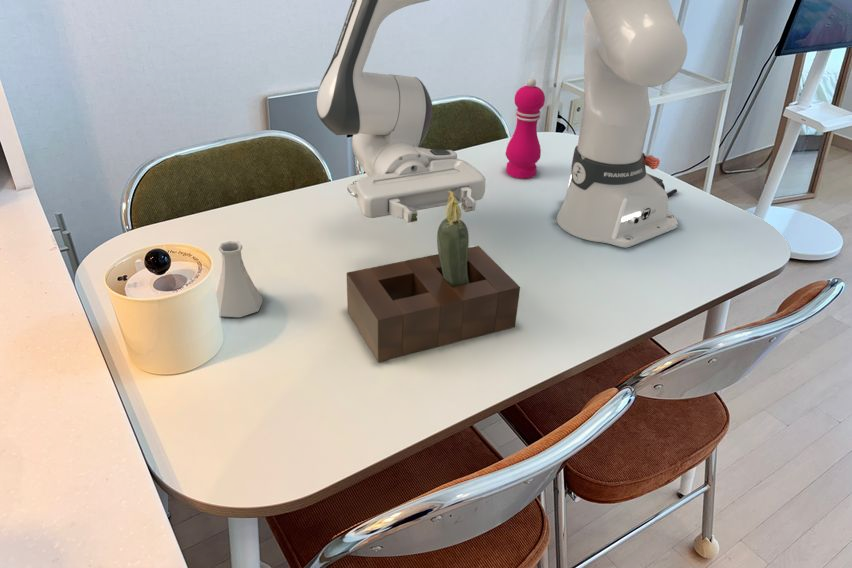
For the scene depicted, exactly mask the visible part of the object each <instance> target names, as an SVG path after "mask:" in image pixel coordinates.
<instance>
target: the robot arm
mask: <svg viewBox="0 0 852 568" xmlns="http://www.w3.org/2000/svg"><path fill="white" fill-rule="evenodd" d="M429 1H430V0H351V3H350V6H349V9H348V11H347V14H346V17H345V19H344V23H343V26H342V29H341V32H340V35H339V38H338V40H337V43H336V46H335V49H334V52H333V54H332V57H331V60H330V63H329V65H328V67H327V69H326V71H325V73H324V75H323V77H322V78H321V81H320V84H319V86H318V90H317V94H316V101H315V102H316V105H315V106H316V107H315V108H316V113H317V114H316V115H317V117H318V119H319V120H320V121H321V122H322V124H323V125H324V126H325V127H326V128H327V130H329V131H330V132H332V133H333V134H334V135H336V136H350V135H351V136H352V138H351V148H352V151H353V154H354V157H355V159H356V161H357V163H358V164H359V166H360V167H361V169H362V170H363V172H364V173H365V174H366V175H367V176H364V177H360V178H359V179H357V180H355V181H352V183H351V184H348V185H347V187H346V190H347V192H348V193H349V195H350V196H351V197H353V198H356V204H357V207H358V208H359V210H360V212H361V214H362V216H363V217H365V218H369V219H377V218H381V217H382V218H383V217H388V216H392V217H395V218H397V219H403V220H404V221H405V222H406V223H407V224H410V223H414V222H418V211H422V210H429V209H434V208H439V207H445V206H446V207H447V204H448V200H449V199H448V198H449V192H448V191H452V192H453V193H454V195H455V197H456V199H457V202H458V204H460V210H461V211H464V212H465V213H471V212H475V211H476V205H477V202H476V201H480V200H482V199H483V198H484V195H485V192H486V176H485V175H484V174H483V173H482V172H481V171H480V170H478V169H477V168H476V167H475V166H473V165H472V164H471V163H469V162H467V161H465V160H464V159H460V158H458V153H457V152H456V151H454V150H452V149H431V148H425V147H421V145H422V143H423V142H424V140H425V138H426V136H427V135H428V132H429V130H430V127H431V124H432V119H433V111H434V109H433V108H434V107H433V101H432V99H431V96H430V93H429V91H428V89H427V86H426V85H425V84H424V83H423V81H422V80H420V78H419V77H418V76H417V77H416V76H410V75H409V76H408V75H401V74H391V73H389V74H386V73H378V72H377V73H376V72H368V71H364V68H365V65H366V62H367V59H368V57H369V54H370V51H371V49H372V46H373V43H374V40H375V39H376V35H377V33H378V29H379V27H380V26H381V24H382V23H383V21H384V20H386V19H387V17H388V16H390V15H392V14H393V13H395V12H397V11H398V10H401V9H403V8H406V7H409V6H413V5H416V4H420V3H425V2H429ZM584 2H585V3H586V6H587V8H588V9H586V11H585V14H584V16H583V21H582V32H583V33H582V34H583V39H584V40H583V41H584V57H583V58H584V59H583V89H584V90H583V93H584V94H583V108H582V116H581V123H580V128H579V135H578V140H577V141H578V142H577V145H576V146H575V147H574V150H573V156H572V161H571V173H570V178H569V182H568V187H567V190H566V194H565V197H564V199H563V203H562V205H561V207H560V209H559V211H558V214H557V215H556V222H557V225H558V226H559V227H560V228H561V229H562V230H563V231H565V232H566V233H567V234H569V235H571V236H574V237H576V238H578V239H582V240H585V241H589V242H594V243H595V242H596V243H604V244H609V245H613V246H615V247H618V248H623V249H625V248H626V249H627V248H630V247H633V246H635V245H639V244H641V243H644V242H646V241H648V240H650V239H653V238H657V237H658V236H660V235H663V234H665V233H668V232H671V231H673V230H675V229H677V228H678V226H679V225H678V224H679V223H678V220H677V218H676V216H675V215H673V214H672V213H671V212H670V210H668V209H669V208H668V207H669V198H670V197H671V196H672V195H674V194H676V193H678V190H677V188H673V189H672V190H671V191H669V192H666V187H665V184H664V183H663V179H662V178H660V177H657V176H654V175H652V174H649V173H647V169H646V168H647V167H648V168H650V169H651V170H656V169H658V167H659V166H660V164H661V160H660V159H659V158H657V157H655V156H654V155H652V154H649V155H646V154H645V153H644V152H643V151H644V147H645V143H646V138H647V133H648V129H649V125H650V120H651V114H652V109H651V104H650V98H649V88H655V87H660V86H662V85H665V84H666V83H668V82H670V81H671V80H672V79H673V78H675V76H677V74H678V73H679V72H680V71H681V69H682V67H683V66H684V64H685V61H686V60H687V59H686V58H687V56H688V55H687V54H688V42H687V38H686V36H685V33H684V32H683V30H682V28H681V26H680V25H679V23H678V20H677V18H676V16H675V14H674V11H673V8H672V5H671V2H670V0H584Z"/></svg>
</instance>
